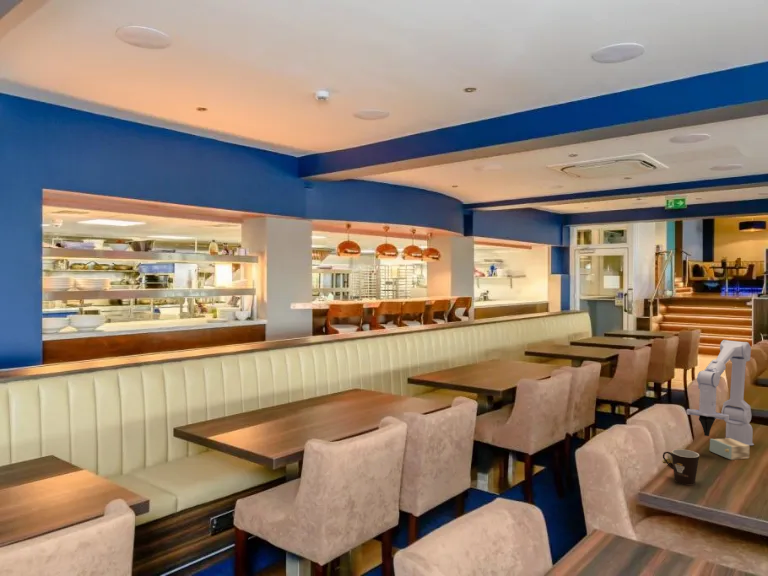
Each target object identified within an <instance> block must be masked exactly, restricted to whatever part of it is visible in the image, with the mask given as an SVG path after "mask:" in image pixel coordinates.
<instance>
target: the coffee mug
mask: <svg viewBox="0 0 768 576" xmlns="http://www.w3.org/2000/svg"><path fill="white" fill-rule="evenodd" d="M670 452H672V453H670ZM666 454H667V455H668V454H670V455H671V456H672V460H673V464H672V465H671V463H668V462H667V461H666V459H667V458H665V456H666ZM662 459H663V460H664V461H665V462H666V463H665V464H667V465H668V466H669V468H671V469H672V470H673V478H674V481H675V480H676V481H677V482H676V481H675V482H676V483H678V482H680V483H679V484H681V483H683V484H682V485H686V484H692V485H695V484H696V478H697V473H698V465H699V460H700V453H698V452H696V451H693V450H689V449H684V448H675V449H673V450H671V451H664V452H663V453H662ZM694 483H695V484H694Z"/></svg>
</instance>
